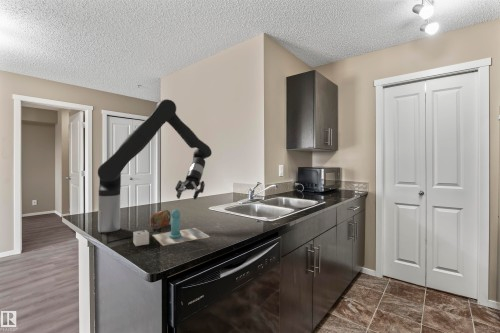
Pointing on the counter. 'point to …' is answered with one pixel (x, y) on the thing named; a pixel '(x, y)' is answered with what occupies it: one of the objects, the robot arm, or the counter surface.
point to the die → (141, 237)
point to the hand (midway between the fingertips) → (186, 198)
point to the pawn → (175, 224)
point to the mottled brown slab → (160, 219)
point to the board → (185, 236)
